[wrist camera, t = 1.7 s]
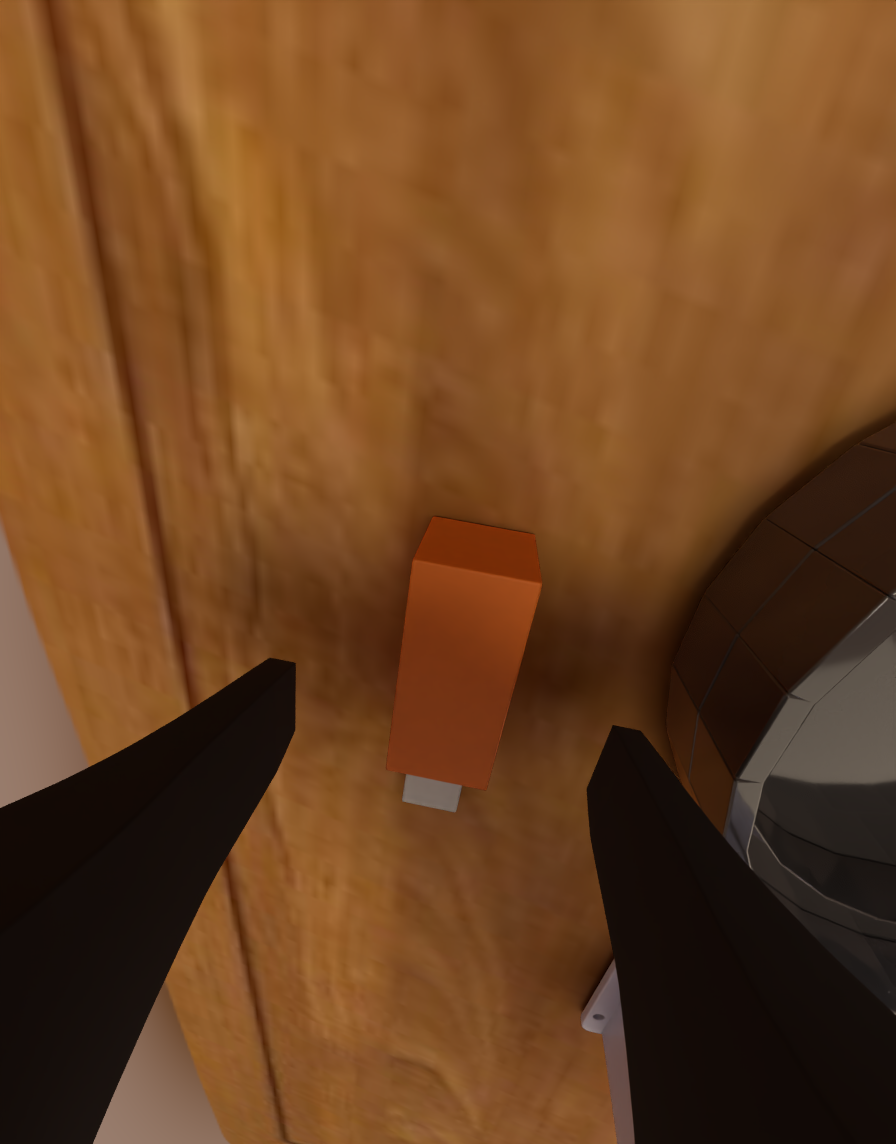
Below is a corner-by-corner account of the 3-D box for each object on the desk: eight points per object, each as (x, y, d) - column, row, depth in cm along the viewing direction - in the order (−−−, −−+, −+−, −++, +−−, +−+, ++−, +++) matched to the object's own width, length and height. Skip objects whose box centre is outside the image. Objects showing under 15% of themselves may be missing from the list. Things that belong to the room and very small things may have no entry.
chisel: (432, 515, 12) (412, 559, 10) (535, 533, 12) (543, 583, 10) (394, 788, 17) (372, 868, 14) (468, 803, 17) (460, 888, 14)
